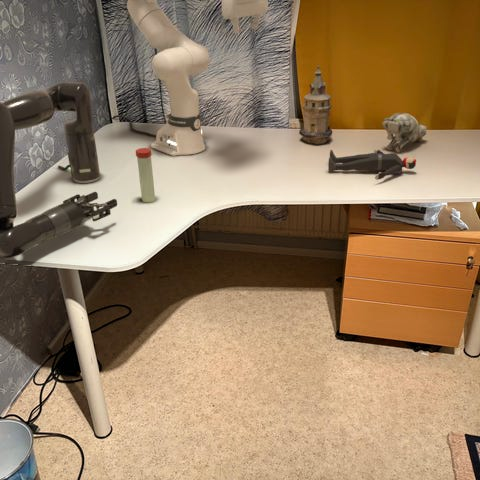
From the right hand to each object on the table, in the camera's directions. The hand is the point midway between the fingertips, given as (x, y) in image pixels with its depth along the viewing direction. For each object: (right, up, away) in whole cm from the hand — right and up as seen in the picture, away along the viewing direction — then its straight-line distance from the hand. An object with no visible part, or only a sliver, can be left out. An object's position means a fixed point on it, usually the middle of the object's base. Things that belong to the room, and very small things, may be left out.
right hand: (246, 31), depth 174 cm
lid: (-32, -41, -10) cm, 52 cm away
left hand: (-41, -56, -16) cm, 71 cm away
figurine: (+63, -31, +38) cm, 80 cm away
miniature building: (+29, -27, +46) cm, 61 cm away
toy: (+45, -43, +17) cm, 64 cm away
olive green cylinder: (-31, -55, -2) cm, 63 cm away
